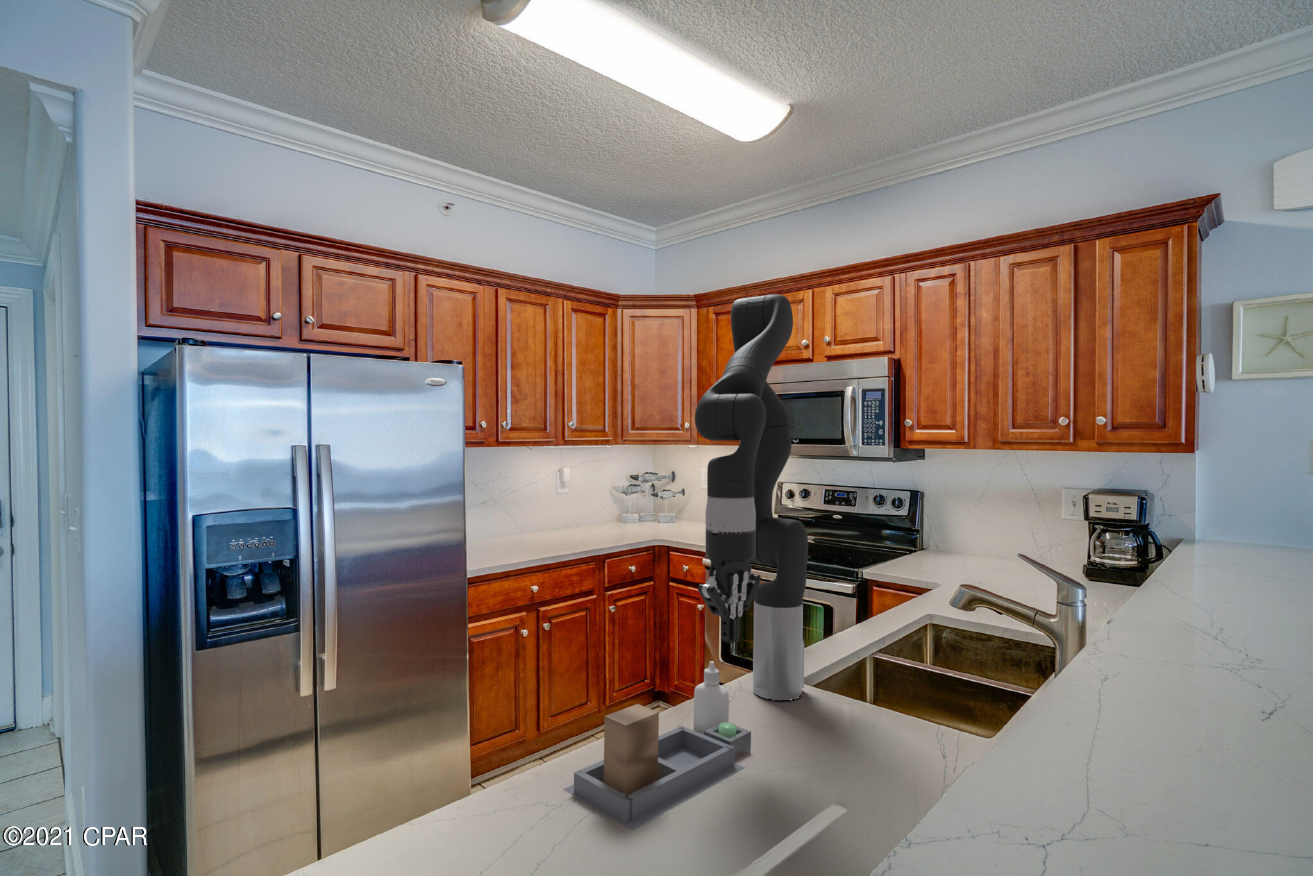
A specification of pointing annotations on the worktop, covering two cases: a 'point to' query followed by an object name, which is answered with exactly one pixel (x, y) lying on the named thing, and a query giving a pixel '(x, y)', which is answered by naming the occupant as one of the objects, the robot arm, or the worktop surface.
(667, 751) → the tray
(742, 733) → the button box
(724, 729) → the button
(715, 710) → the eye dropper bottle
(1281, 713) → the worktop surface
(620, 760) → the walnut block
